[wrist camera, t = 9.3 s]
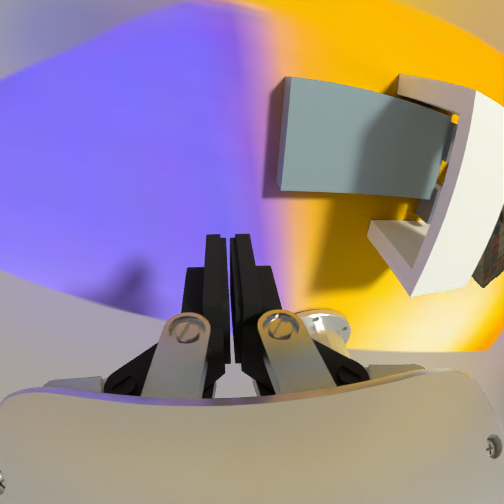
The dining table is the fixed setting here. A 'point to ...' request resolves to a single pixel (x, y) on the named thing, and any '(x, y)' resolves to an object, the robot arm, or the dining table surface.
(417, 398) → the robot arm
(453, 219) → the shelf
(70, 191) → the dining table surface
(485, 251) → the beverage carton
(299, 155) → the panel
